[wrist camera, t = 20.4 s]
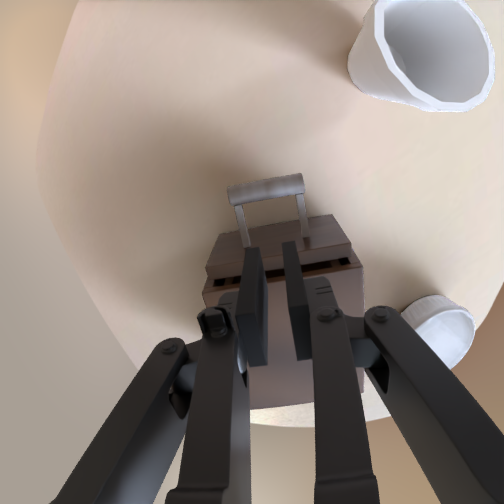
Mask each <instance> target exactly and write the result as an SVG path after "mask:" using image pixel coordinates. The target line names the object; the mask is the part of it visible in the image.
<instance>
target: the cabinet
mask: <svg viewBox="0 0 504 504" xmlns="http://www.w3.org/2000/svg"><path fill="white" fill-rule="evenodd" d="M338 260H339V262H340V264H341V266H337V267H332V268H326V269H321V270H315V271H309V272H303V273H302V275H303V279H308V278H314V277H319V276H324V277H326V278H327V279H328V280H329V281H330V284H331V287H332V289H333V292H334V295H335V298H336V301H337V304H338V307H339V308H340V309H342V311H343V313H344V314H346V315H348V316H352V317H364V314H365V303H364V277H363V266H362V264H361V263H360V261H359V259H358V257H357V256H356V254H355V253H354V251H353V249H352V256H351V257H346V258H341V259H338ZM225 279H226V278H222V279H216V280H209V279H208V277H207V280H206V283H205V286H204V289H203V291H202V296H203V299H204V302H205V305H206V308H208V307H212V306H217V304H218V300H219V298H220V297H221V296H222V295H223V294H224V293H226V292H233V291H239V287H240V283H237V284H230V285H224V283H225ZM266 281H267V285H268V365H267V366H259V367H249V363H248V360H247V370H248V373H249V396H250V410H253V409H264V408H273V407H282V406H290V405H297V404H304V403H311V402H314V383H313V363H312V359H309V360H302V361H297V356H296V350H295V345H294V339H293V333H292V327H291V322H290V316H289V310H288V302H287V292H286V281H285V276H280V277H274V278H268V279H266ZM364 371H365V370H364V368H360V367H356V372H357V378H358V383H359V388H360V393H363V392H364Z"/></svg>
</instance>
